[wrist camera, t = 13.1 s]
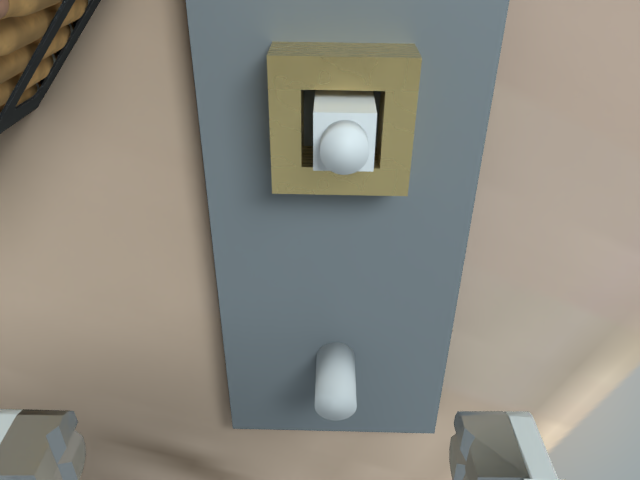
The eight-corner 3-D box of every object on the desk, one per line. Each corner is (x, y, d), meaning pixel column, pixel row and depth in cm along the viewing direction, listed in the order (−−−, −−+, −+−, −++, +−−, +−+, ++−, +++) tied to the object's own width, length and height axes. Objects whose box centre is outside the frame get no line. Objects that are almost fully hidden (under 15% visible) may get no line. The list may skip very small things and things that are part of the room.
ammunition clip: (105, -105, 24) (-64, -98, 14) (143, -73, 25) (7, -43, 14) (2, 85, 28) (-184, 197, 18) (36, 109, 29) (-125, 229, 19)
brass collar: (276, 171, 29) (272, 193, 27) (272, 41, 25) (266, 55, 23) (402, 173, 29) (407, 196, 27) (414, 43, 25) (422, 57, 23)
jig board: (236, 411, 41) (220, 493, 35) (181, -113, 24) (135, -112, 18) (430, 416, 40) (446, 499, 35) (517, -110, 23) (573, -108, 18)
